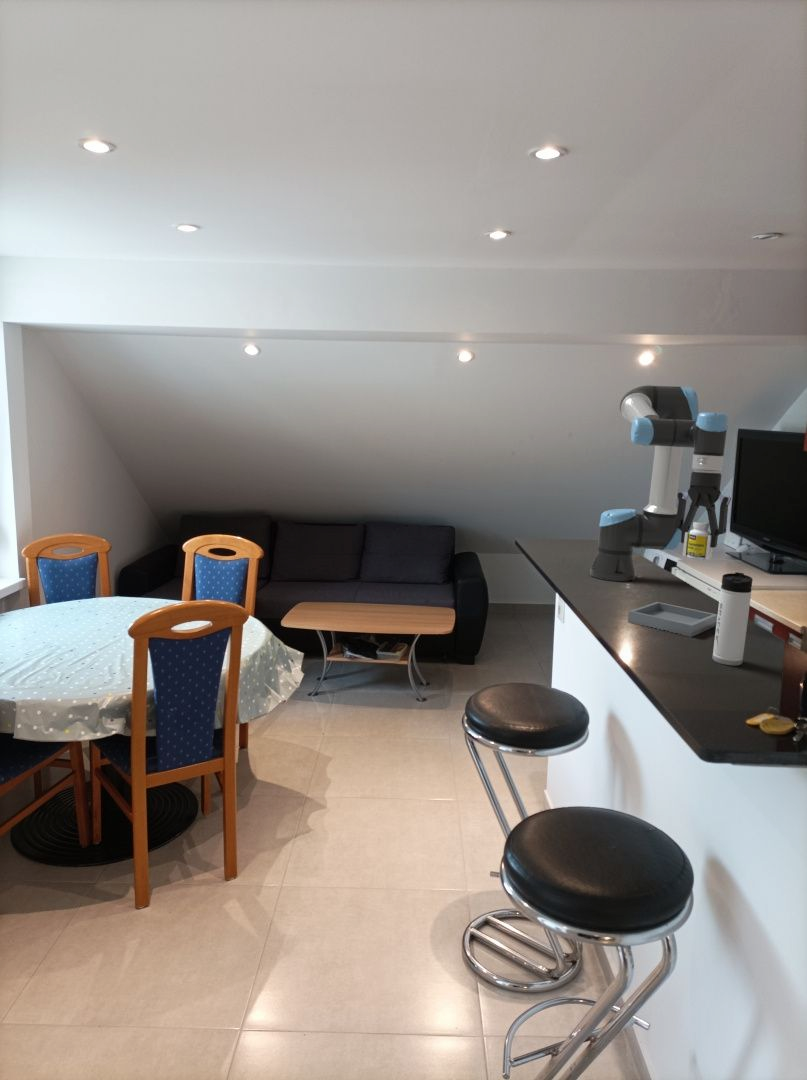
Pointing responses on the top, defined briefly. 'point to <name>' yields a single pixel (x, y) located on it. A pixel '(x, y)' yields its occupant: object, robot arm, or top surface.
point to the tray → (673, 618)
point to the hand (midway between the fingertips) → (697, 557)
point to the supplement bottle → (698, 540)
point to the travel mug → (732, 619)
